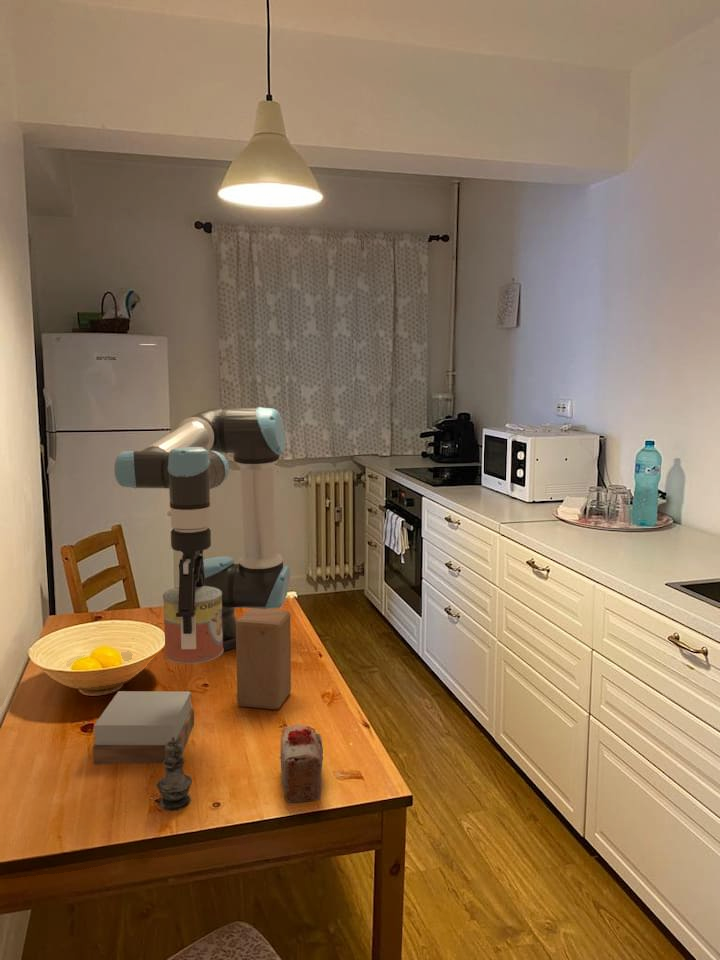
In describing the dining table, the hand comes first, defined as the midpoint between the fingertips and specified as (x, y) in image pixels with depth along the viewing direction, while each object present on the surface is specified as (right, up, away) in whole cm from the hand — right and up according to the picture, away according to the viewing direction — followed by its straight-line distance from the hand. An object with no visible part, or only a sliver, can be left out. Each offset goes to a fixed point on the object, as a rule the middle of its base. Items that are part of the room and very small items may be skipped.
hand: (193, 637), depth 147 cm
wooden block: (+11, -19, +22) cm, 31 cm away
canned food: (0, -3, +1) cm, 3 cm away
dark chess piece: (+1, -25, -18) cm, 30 cm away
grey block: (-10, -18, +2) cm, 21 cm away
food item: (+22, -24, -11) cm, 35 cm away
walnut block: (-10, -22, +3) cm, 25 cm away
